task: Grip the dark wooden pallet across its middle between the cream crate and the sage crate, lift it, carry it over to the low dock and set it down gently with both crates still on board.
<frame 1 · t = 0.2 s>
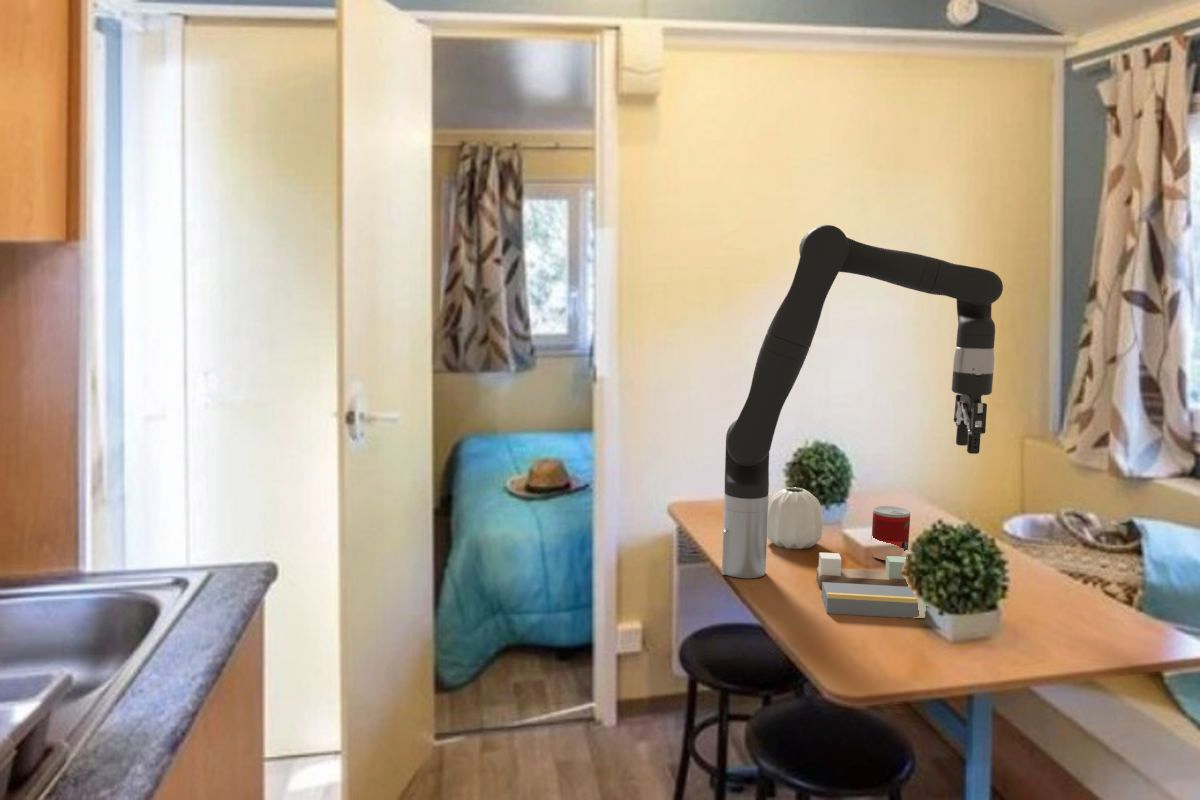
hand: (967, 449, 182), 28 cm above the table, tool pointing down, fingers open, 8 cm apart
canned food: (889, 558, 203), on the table
cream crate: (829, 572, 184), point 3 cm above the table, touching pallet
pallet: (862, 588, 183), on the table, touching cream crate
dock: (872, 607, 172), on the table
sage crate: (897, 575, 182), point 3 cm above the table
vase: (792, 545, 212), on the table
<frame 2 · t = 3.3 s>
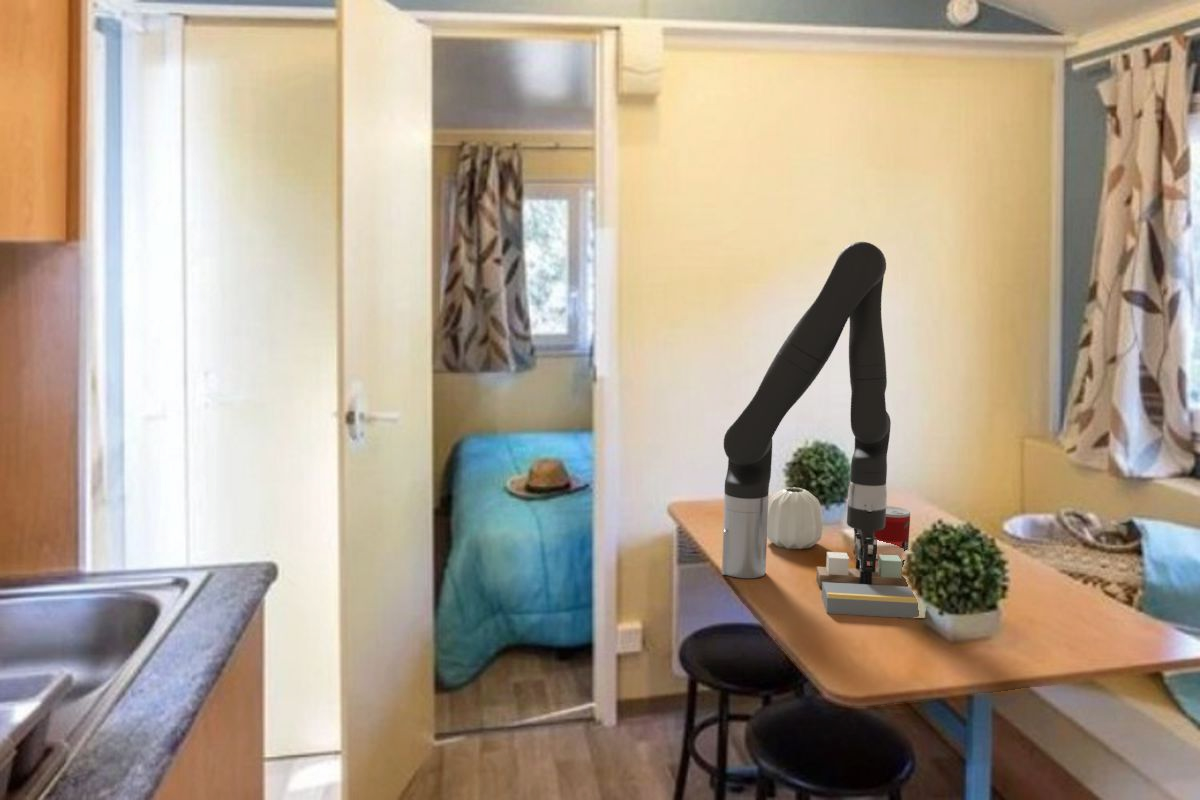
hand: (862, 583, 183), 1 cm above the table, tool pointing down, fingers closed on pallet, 5 cm apart
cream crate: (837, 571, 184), point 3 cm above the table, touching pallet
pallet: (862, 587, 183), on the table, touching cream crate, gripper, sage crate
sage crate: (889, 574, 182), point 3 cm above the table, touching pallet
everything else where it was.
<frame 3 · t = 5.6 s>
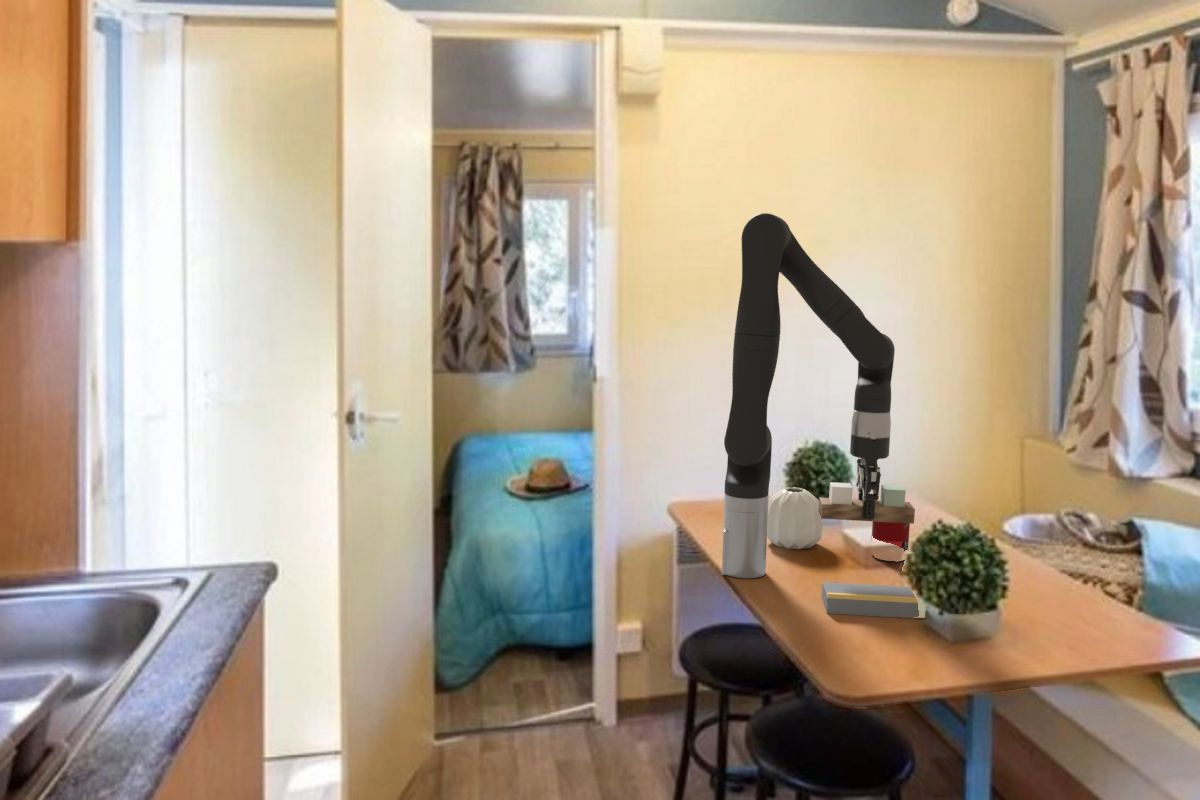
hand: (865, 514, 181), 15 cm above the table, tool pointing down, fingers closed on pallet, 5 cm apart
cream crate: (840, 501, 182), point 18 cm above the table, touching pallet
pallet: (865, 517, 182), point 15 cm above the table, touching cream crate, gripper, sage crate
sage crate: (892, 504, 180), point 17 cm above the table, touching pallet
everything else where it was.
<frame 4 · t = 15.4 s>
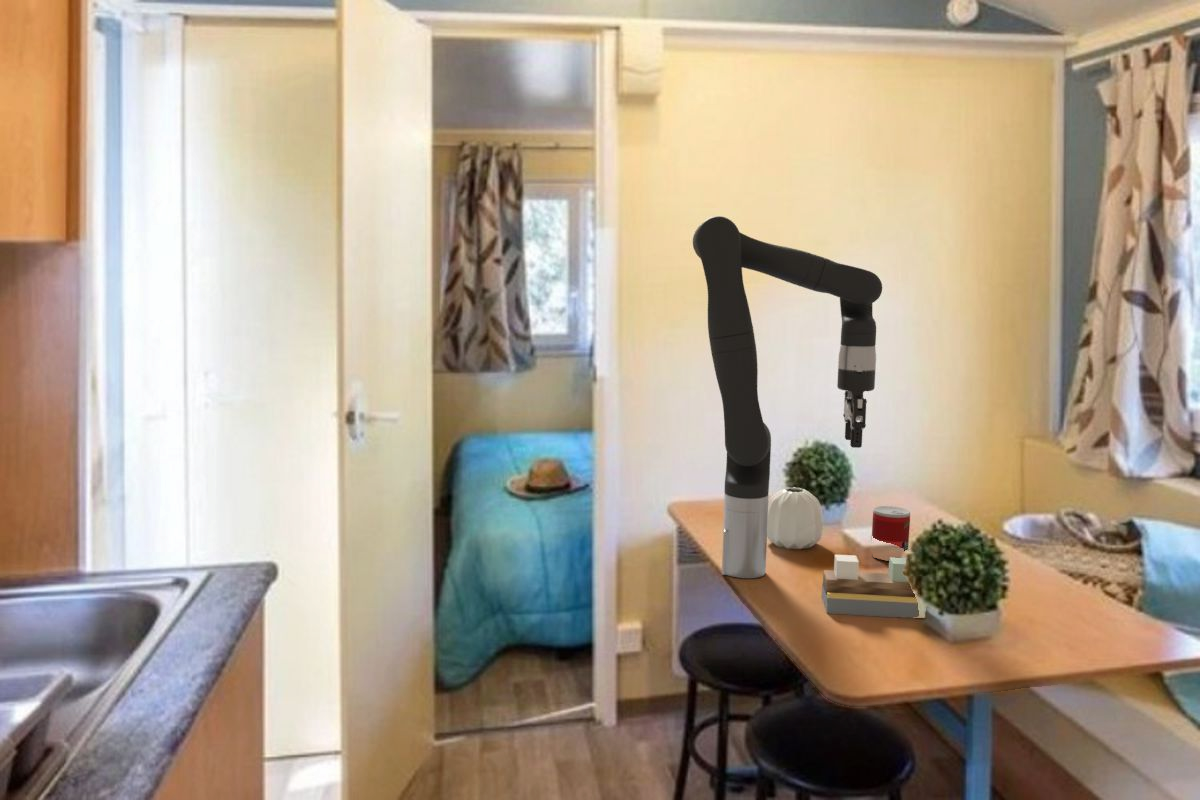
hand: (852, 443, 189), 28 cm above the table, tool pointing down, fingers open, 8 cm apart
cream crate: (845, 575, 172), point 6 cm above the table, touching pallet
pallet: (872, 592, 171), point 3 cm above the table, touching cream crate, dock, sage crate
sage crate: (901, 578, 170), point 6 cm above the table, touching pallet
everything else where it was.
at the end: pallet inside the target area (0.1 cm from its centre), point 3.0 cm above the table; cream crate inside the target area on the pallet (5.1 cm from its centre), point 3.0 cm above the pallet's base; sage crate inside the target area on the pallet (5.2 cm from its centre), point 3.0 cm above the pallet's base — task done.
